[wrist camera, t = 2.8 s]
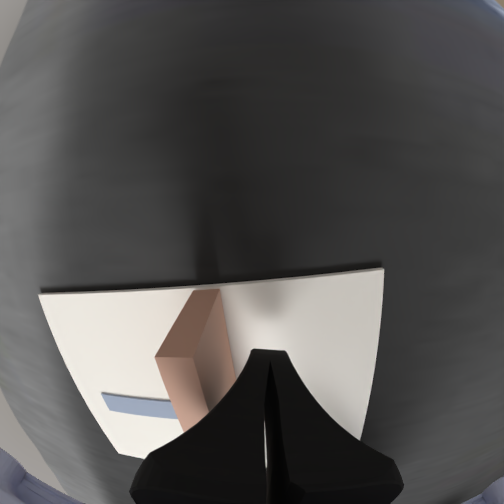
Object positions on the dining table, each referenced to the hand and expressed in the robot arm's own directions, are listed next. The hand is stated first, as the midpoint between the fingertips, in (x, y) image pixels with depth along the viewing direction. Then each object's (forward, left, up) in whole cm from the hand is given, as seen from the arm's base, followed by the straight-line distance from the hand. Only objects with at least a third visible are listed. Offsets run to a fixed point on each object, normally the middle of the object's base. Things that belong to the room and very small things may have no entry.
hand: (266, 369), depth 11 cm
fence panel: (-2, +2, -2) cm, 4 cm away
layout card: (-5, +4, -3) cm, 7 cm away
